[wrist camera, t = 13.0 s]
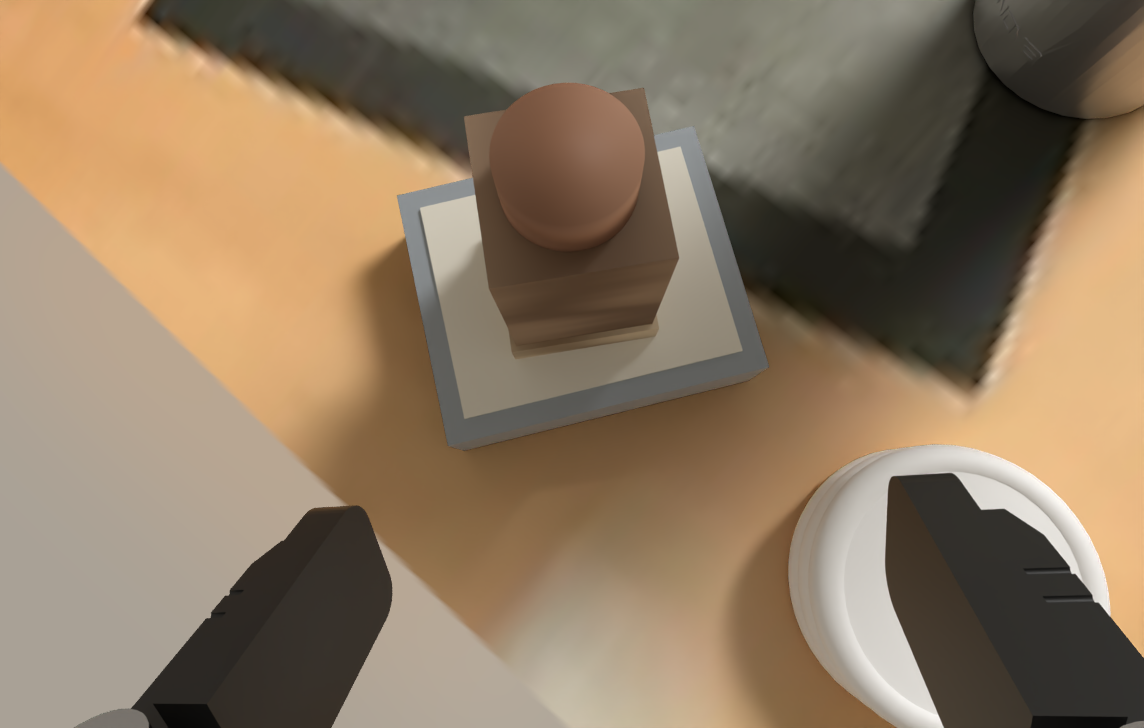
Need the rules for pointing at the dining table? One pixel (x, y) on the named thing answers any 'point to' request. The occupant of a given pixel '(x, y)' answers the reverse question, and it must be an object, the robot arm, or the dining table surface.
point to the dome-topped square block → (572, 217)
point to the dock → (589, 375)
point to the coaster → (858, 579)
